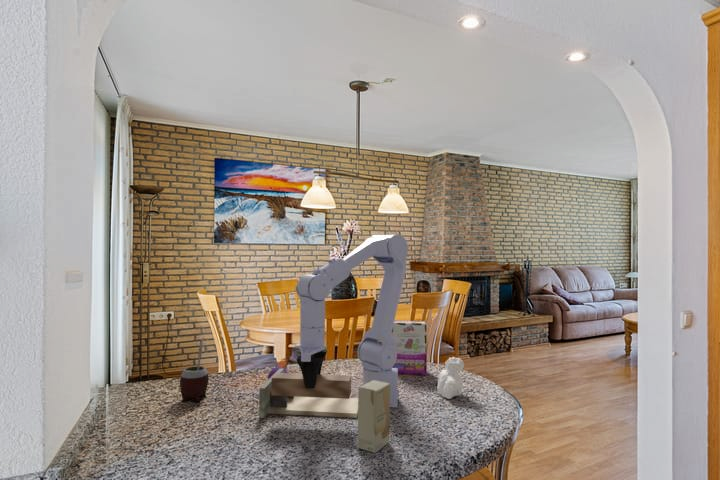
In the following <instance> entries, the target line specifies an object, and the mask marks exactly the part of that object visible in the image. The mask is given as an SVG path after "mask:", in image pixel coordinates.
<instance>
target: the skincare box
mask: <svg viewBox="0 0 720 480" xmlns="http://www.w3.org/2000/svg"><path fill="white" fill-rule="evenodd" d="M357 396H358V397H357V398H358V415H357V448H358V449H361V450H363V451H366V452H367V451H368V452H370V453H378V451H380V450H381V449H383V448H384V447H385V446H387V444H389V443H390V425H391V424H390V423H391V422H390V413H391V411H390V408H391V407H390V383H385V382H380V381H376V380H372V381H371V382H369V383H366V384H364V385H363V384H362V385H361V386H358V395H357Z"/></svg>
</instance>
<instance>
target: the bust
mask: <svg viewBox="0 0 720 480" xmlns="http://www.w3.org/2000/svg"><path fill="white" fill-rule="evenodd" d="M444 365H445V367H446V369H442V370H441V371H440V373H439V374H438V377H437V387H436V389H437V392H438V394H439V395H440V396H441V397H442V398H446V399H448V400H451V399H453V398H454V397H458V396H460V395H461V393H462V390H463V386H464V384H463V378H462V376H461V375H460V374H459V372H460V371H461V370H463V368H464V366H465V362H464V361H463V359H461V357H456V356H452V357H450V356H449V357H448V359H447V360H446V361H445V362H444Z"/></svg>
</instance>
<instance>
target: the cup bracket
mask: <svg viewBox="0 0 720 480" xmlns="http://www.w3.org/2000/svg"><path fill="white" fill-rule="evenodd" d="M276 373H284V369H279V370H278V371H277V372H276ZM276 373H275V374H276ZM275 374H274V375H275ZM274 375H272V376H271V377H270V378H269V379H268V378H267V380H266V381H265V382H264V383H263V384H262V385H261V386H259V391H258V394H259V400H258V401H259V402H258V408H259V409H258V411H259V412H258V416H259V417H258V418H259V419H265V418H266V417H267V415H268V414H274V415H275V414H276V415H292V416H294V415H295V416H312V415H314V416H313V417H315V416H316V417H334V418H336V417H337V418H352V419H353V418H357V419H358V397H349V399H342V398H319V397H297V396H274V395H271V390H272V377H273V376H274Z"/></svg>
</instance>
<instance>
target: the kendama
mask: <svg viewBox="0 0 720 480" xmlns="http://www.w3.org/2000/svg"><path fill="white" fill-rule="evenodd" d="M287 368H288V363H287V362H286V361H285V360H280V361H278V362H277V364H276V367H273V368H272V369H271V370H270V371H269V372H268V375H267V380H268V379H269V378H270V377H271V376H272V375H274V374H275V373H276V372H277V371H278V370H279V369H284V373H289V372H288V370H287Z"/></svg>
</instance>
